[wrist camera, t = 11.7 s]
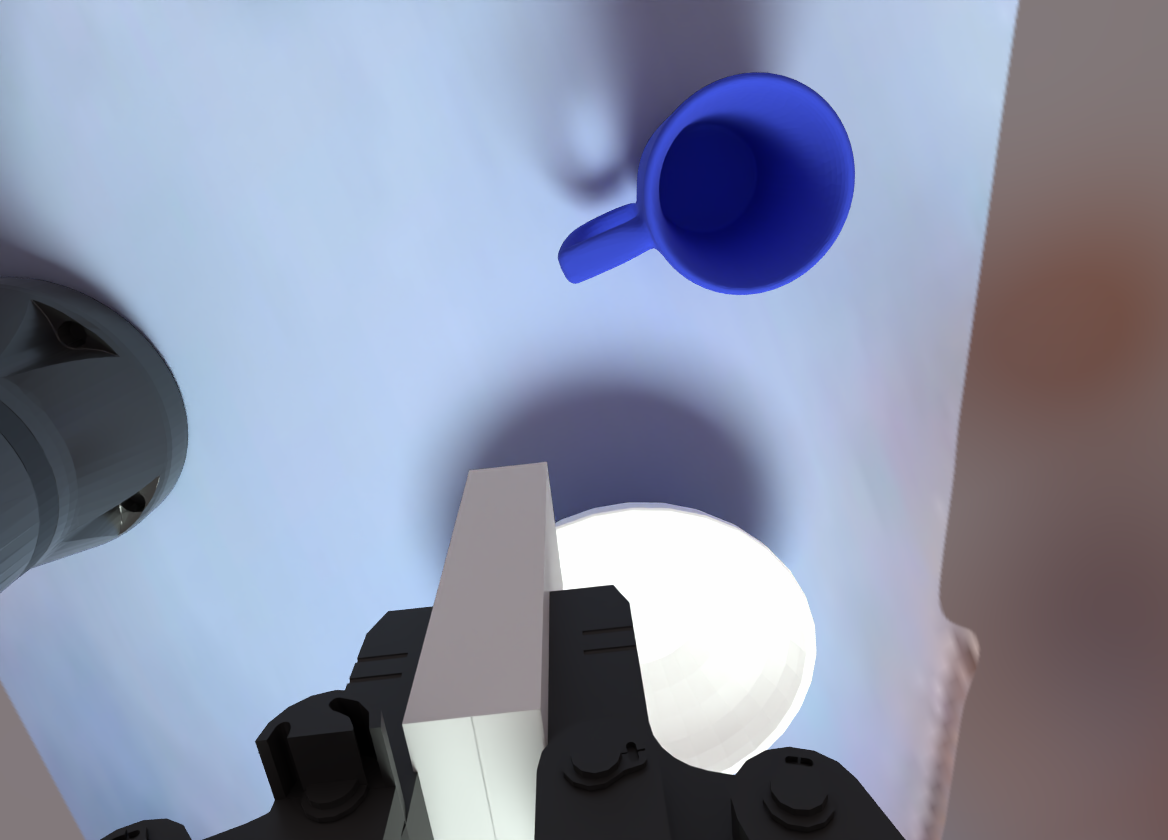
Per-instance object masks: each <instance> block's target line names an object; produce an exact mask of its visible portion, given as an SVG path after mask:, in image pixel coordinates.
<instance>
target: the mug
mask: <svg viewBox="0 0 1168 840" xmlns="http://www.w3.org/2000/svg"><path fill="white" fill-rule="evenodd" d="M854 182H855V167H854V158H853V152H852V148H851V144H850V141H849V138H848V135H847V132H846V130H845V128H844V126H843V124H842V122H841V120H840V119H839V117H838V115H837V114H836V112H835V111H834V110H833V109H832V107H831V106H830V105H829V104H828V103H827V102H826V101H825V100H824V99H823V98H822V97H821V96H820V95H819V94H818V93H816V92H815V91H814V90H812V89H811V88H809V87H808V86H806V85H804V84H802V83H800V82H798V81H796V80H794V79H791V78H788V77H785V76H782V75H777V74H772V73H757V72H753V73H743V74H737V75H733V76H729V77H726V78H723V79H720V80H718V81H715V82H713V83H711V84H709V85H707V86H705V87H703V88H702V89H700V90H699V91H697V92H696V93H694V94H693V95H691V96H690V97H689V98H688V99H686V100H685V101H684V102H683V103H682V104H681V105H680V106H679V107H678V108H677V109H676V110H675V111H674V112H673V113H672V114H671V115H670V116H669V117H668V118H667V119H666V120H665V121H664V122H663V123H662V124H661V125H660V126H659V127H658V128H657V130H656V131H655V132H654V133H653V135H652V136H651V138H650V139H649V141H648V143H647V144H646V146H645V149H644V151H643V153H642V156H641V159H640V163H639V168H638V175H637V201H636V203H631V204H627V205H624V206H622V207H619V208H616V209H614V210H612V211H609V212H607V213H605V214H603V215H601V216H599V217H597V218H594V219H593V220H591V221H589V222H587V223H585V224H583V225H582V226H580V227H578V228H577V229H576V230H574V231H573V232H572V233H571V234H570V235H569V236H568V237H567V238H566V239H565V241H564V242H563V244H562V246H561V248H560V250H559V253H558V260H559V263H560V266H561V269H562V271H563V273H564V275H565V277H566V278H567V279H568V280H569V282H571V283H575V284H576V283H580V282H582V281H585V280H587V279H589V278H592V277H594V276H596V275H599V274H601V273H603V272H605V271H608V270H610V269H612V268H614V267H617V266H619V265H621V264H623V263H625V262H627V261H629V260H631V259H633V258H635V257H637V256H638V255H640V254H642V253H644V252H646V251H647V250H649V249H653V248H655V249H657V250H658V251H659V252H660V253H661V254H662V255H663V256H664V257H665V259H666V260H667V261H668V262H669V263H670V264H671V266H672V267H673V268H674V269H676V270H677V271H678V272H679V273H680V274H681V275H683V276H684V277H685V278H687V279H688V280H690V281H692V282H693V283H695V284H697V285H699V286H701V287H704V288H706V289H709V290H712V291H715V292H719V293H724V294H733V295H748V294H756V293H762V292H766V291H770V290H773V289H776V288H779V287H781V286H783V285H785V284H787V283H790V282H792V281H793V280H795V279H797V278H798V277H800V276H801V275H803V274H804V273H806V272H807V271H808V270H809V269H811V268H812V267H813V266H814V265H815V264H816V263H817V262H818V261H819V260H820V259H821V258H822V257H823V256H824V255H825V254H826V252H827V251H828V250H829V249H830V247H831V246H832V245H833V243H834V242H835V240H836V239H837V237H838V235H839V233H840V231H841V229H842V227H843V225H844V223H845V221H846V219H847V216H848V213H849V210H850V206H851V202H852V198H853V192H854Z"/></svg>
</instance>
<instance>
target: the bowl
mask: <svg viewBox="0 0 1168 840" xmlns="http://www.w3.org/2000/svg"><path fill="white" fill-rule="evenodd" d="M555 527H556V535H557V542H558V550H559V557H560V565H561V572H562V580H563V590H567V589H576V588H586V587H595V586H604V585H614V586H615V587H616V588H617V589H618V590H619V592H620V593H621V594H622V595H623V596H624V597H625V598H626V599H627V600H628V601H629V603H630V608H631V614H632V620H633V627H634V633H635V639H636V645H637V651H638V657H639V663H640V669H641V676H642V682H643V688H644V694H645V700H646V706H647V712H648V718H649V723H650V726H651V729H652V732H653V735H654V737H655V738H656V739H657V741H658V742H659V744H660V745H661V747H662V748H664V749H665V750H666V751H667V752H668V753H670V754H671V755H672V756H673V757H674V758H676V759H678V760H680V761H682V762H684V763H686V764H688V765H690V766H694V767H697V768H701V769H705V770H708V771H714V772H720V773H726V774H731V775H732V774H734V773H736V772H738V771H739V769H740V768H741V767H742V765H743V764H744V763H745V761H746V760H748V759H750V758H752V757H754V756H756V755H757V754H759V753H761V752H763V751H765V750H767V749H768V748H769V747H770V746H771V745H772V744H773V743H774V742H775V741H776V740H777V739H778V738H779V737H780V736H781V735H782V734H783V733H784V731H785V730H786V728H787V727H788V725H789V724H790V722H791V721H792V720H793V718H794V717H795V715H796V714H797V712H798V711H799V709H800V707H801V705H802V703H803V700H804V698H805V696H806V693H807V691H808V688H809V686H810V684H811V681H812V675H813V669H814V664H815V658H816V640H815V624H814V621H813V618H812V615H811V612H810V608H809V605H808V602H807V599H806V596H805V594H804V593H803V591H802V589H801V588H800V586H799V584H798V583H797V581H796V579H795V578H794V576H793V575H792V573H791V571H790V570H789V569H788V568H787V567H786V566H785V565H784V564H783V563H782V562H781V561H780V560H779V559H778V558H777V557H776V556H775V555H774V553H773V552H772V551H771V550H770V549H769V548H768V547H767V546H765V545H764V544H763V543H762V542H761V541H759V540H757V539H756V538H754V537H753V536H751V535H750V534H748V533H747V532H745V531H744V530H742V529H741V528H739V527H738V526H736V525H735V524H732V523H730V522H727V521H725V520H722V519H720V518H717V517H715V516H712V515H710V514H707V513H705V512H702V511H700V510H697V509H693V508H688V507H683V506H677V505H672V504H667V503H646V502H627V503H621V504H615V505H609V506H603V507H597V508H593V509H590V510H587V511H584V512H581V513H578V514H576V515H573V516H570V517H567V518H564V519H562V520H560V521H558V522H556V523H555Z"/></svg>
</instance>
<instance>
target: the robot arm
mask: <svg viewBox="0 0 1168 840" xmlns="http://www.w3.org/2000/svg"><path fill="white" fill-rule="evenodd" d="M187 445H188V427H187V418H186V413H185V408H184V405H183V401H182V398H181V395H180V392H179V390H178V387H177V385H176V383H175V380H174V379H173V377H172V375H171V373H170V371H169V369H168V368H167V366H166V364H165V363H164V361H163V360H162V358H161V357H160V356H159V354H158V353H157V352H156V350H155V349H154V348H153V347H152V345H151V344H150V343H149V342H148V341H147V340H146V339H145V338H144V337H143V335H142V334H140V333H139V332H138V331H137V330H136V329H135V328H134V327H133V326H132V325H131V324H130V323H128V322H127V321H126V320H125V319H124V318H122V317H121V316H120V315H118V314H117V313H116V312H114V311H113V310H111V309H110V308H108V307H107V306H105V305H103V304H102V303H100V302H98V301H96V300H95V299H93V298H91V297H89V296H87V295H85V294H82V293H80V292H78V291H75V290H73V289H70V288H67V287H64V286H62V285H58V284H55V283H51V282H47V281H42V280H37V279H30V278H19V277H0V593H1V592H2V591H3V590H5V589H6V588H7V587H8V586H9V585H11V584H12V583H13V582H14V581H15V580H16V579H18V578H19V577H20V576H21V575H23V574H24V573H25V572H27V571H28V570H29V569H31V568H34V567H37V566H40V565H43V564H46V563H49V562H52V561H55V560H58V559H61V558H64V557H67V556H70V555H73V554H76V553H79V552H82V551H85V550H88V549H91V548H94V547H97V546H100V545H102V544H105V543H107V542H110V541H112V540H114V539H116V538H117V537H119V536H121V535H123V534H124V533H126V532H128V531H129V530H131V529H132V528H133V527H135V526H136V525H137V524H138V523H140V522H141V521H142V520H143V519H144V518H145V517H146V516H148V515H149V514H150V513H151V512H152V511H153V510H154V509H155V508H156V507H158V506H159V505H160V504H161V503H162V502H163V501H164V499H165V498H166V497H167V496H168V495H169V493H170V492H171V490H172V489H173V488H174V486H175V484H176V482H177V481H178V478H179V476H180V474H181V472H182V469H183V466H184V462H185V458H186V453H187ZM357 659H358V662H357V663H355V666H354V668H353V671H352V673H351V676H350V683H349V684H347V686H346V689H345V690H334V691H330V692H326V693H322V694H317V695H313V696H310V697H308V698H306V699H304V700H302V701H300V702H298V703H296V704H294V705H292V706H290V707H288V708H287V709H286V710H284V711H283V712H282V713H280V714H279V715H278V716H277V717H275V718H274V719H273V720H272V721H270V722H269V723H268V724H267V726H266V727H265V729H264V730H263V731H262V733H261V734H260V735H259V737H258V738H257V739H256V741H255V742H256V745H257V748H258V751H259V754H260V757H261V760H262V763H263V766H264V769H265V772H266V775H267V778H268V781H269V784H270V787H271V790H272V793H273V796H274V798H275V801H274V804H273V806H272V808H271V811H270V812H269V813H267V814H265V815H263V816H261V817H259V818H257V819H255V820H253V821H250V822H248V823H246V824H244V825H241V826H238V827H236V828H233V829H230V830H228V831H225V832H222V833H219V834H217V835H214V836H211V837H209V838H206V839H203V840H905V839H904V837H903V836H902V835H901V834H900V832H899V831H898V830H897V829H896V827H895V826H894V825H893V824H892V822H891V821H890V820H889V819H888V817H887V816H886V815H885V814H884V812H883V811H882V810H881V809H880V807H879V806H878V805H877V804H876V802H875V801H874V800H873V799H872V797H871V796H870V795H869V794H868V792H867V791H866V790H865V789H864V787H863V786H862V785H861V784H860V782H859V781H858V780H857V779H856V778H855V777H854V776H853V775H852V774H851V773H850V772H849V771H847V770H846V769H845V768H844V767H843V766H842V765H841V764H840V763H839V762H837V761H835V760H833V759H831V758H828V757H826V756H824V755H822V754H820V753H818V752H816V751H812V750H806V749H800V748H793V747H784V748H777V749H770V750H765V751H763V752H761V753H759V754H757V755H756V756H754V757H752V758H750V759H748V760H746V761H745V763H744V764H743V765H742V767H741V768H740V769H739V771H738V772H737V773H736V775H731V774H726V773H720V772H714V771H708V770H705V769H701V768H697V767H694V766H690V765H688V764H686V763H684V762H682V761H680V760H678V759H676V758H674V757H673V756H672V755H671V754H670V753H668V752H667V751H666V750H665V749H664V748H662V747H661V745H660V744H659V742H658V741H657V739H656V738H655V737H654V735H653V732H652V729H651V726H650V723H649V718H648V712H647V706H646V700H645V694H644V688H643V682H642V676H641V669H640V663H639V657H638V651H637V645H636V639H635V633H634V627H633V620H632V614H631V608H630V603H629V601H628V600H627V599H626V598H625V597H624V596H623V595H622V594H621V593H620V592H619V590H618V589H617V588H616V587H615V586H614V585H604V586H595V587H586V588H576V589H567V590H563V580H562V572H561V565H560V557H559V550H558V542H557V535H556V527H555V520H554V512H553V504H552V497H551V489H550V482H549V474H548V467H547V462H540V463H531V464H522V465H513V466H504V467H495V468H486V469H476V470H469V473H468V477H467V481H466V485H465V488H464V492H463V496H462V500H461V503H460V507H459V511H458V515H457V519H456V522H455V526H454V530H453V534H452V537H451V541H450V545H449V549H448V553H447V556H446V560H445V564H444V568H443V571H442V575H441V579H440V583H439V587H438V590H437V594H436V598H435V602H434V605H433V607H424V608H414V609H405V610H396V611H388V612H387V613H386V614H385V615H384V616H383V617H382V618H381V619H380V620H379V621H378V622H377V624H376V625H375V626H374V627H373V628H372V629H371V630H370V631H369V632H368V633H367V634H366V637H365V640H364V642H363V645H362V647H361V650H360V653H359V655H358V658H357ZM101 840H191V838H190V836H189V834H188V832H187V831H186V829H185V827H184V825H182V824H179V823H177V822H174V821H172V820H169V819H154V820H143V821H140V822H137V823H134V824H132V825H129V826H126V827H123V828H120V829H118V830H115V831H114V832H112V833H110V834H109V835H107V836H106V837H104V838H102V839H101Z"/></svg>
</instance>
